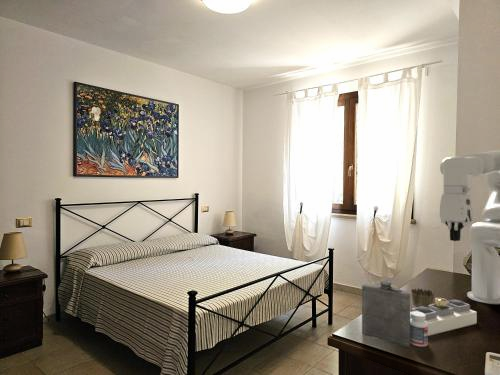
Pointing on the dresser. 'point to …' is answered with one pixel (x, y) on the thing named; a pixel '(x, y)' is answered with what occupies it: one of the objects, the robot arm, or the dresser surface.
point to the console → (448, 317)
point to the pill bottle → (418, 329)
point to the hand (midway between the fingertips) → (455, 240)
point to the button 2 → (457, 302)
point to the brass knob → (441, 303)
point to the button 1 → (423, 309)
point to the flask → (386, 313)
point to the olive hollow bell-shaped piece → (422, 297)
